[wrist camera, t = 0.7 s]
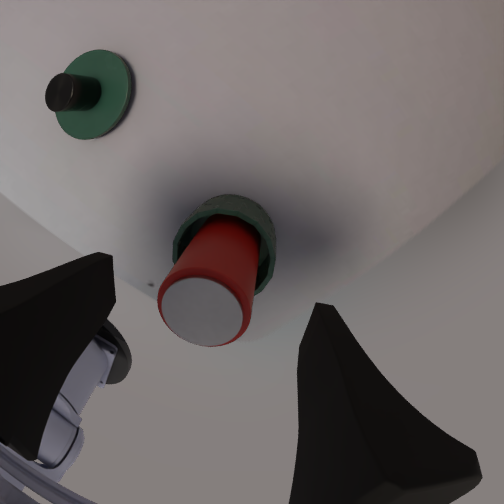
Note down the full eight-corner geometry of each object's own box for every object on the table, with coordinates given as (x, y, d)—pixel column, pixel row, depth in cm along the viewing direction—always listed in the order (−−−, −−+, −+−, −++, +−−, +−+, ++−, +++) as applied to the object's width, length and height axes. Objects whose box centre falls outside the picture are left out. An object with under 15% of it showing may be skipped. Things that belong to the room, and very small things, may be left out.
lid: (111, 152, 18) (74, 161, 14) (52, 120, 17) (14, 125, 13) (152, 67, 16) (121, 55, 12) (86, 43, 15) (49, 33, 11)
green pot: (246, 289, 21) (241, 318, 18) (175, 249, 21) (158, 272, 17) (292, 224, 19) (295, 244, 16) (213, 177, 18) (200, 188, 15)
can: (241, 277, 20) (221, 364, 13) (189, 248, 20) (142, 322, 12) (272, 230, 19) (269, 304, 11) (217, 198, 18) (176, 252, 11)
